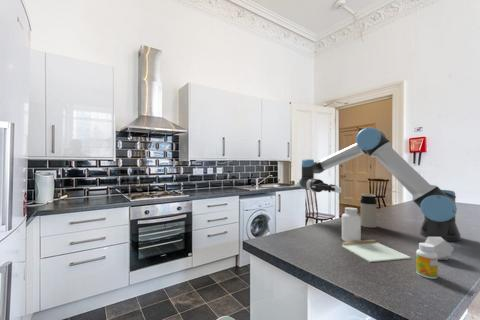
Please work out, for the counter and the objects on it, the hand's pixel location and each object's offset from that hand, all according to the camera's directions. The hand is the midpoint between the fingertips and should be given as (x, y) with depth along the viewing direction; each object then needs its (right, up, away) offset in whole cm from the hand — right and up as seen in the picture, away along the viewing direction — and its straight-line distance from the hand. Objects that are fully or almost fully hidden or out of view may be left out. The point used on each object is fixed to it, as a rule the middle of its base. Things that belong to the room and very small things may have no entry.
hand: (340, 190), depth 114 cm
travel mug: (+24, -23, +17) cm, 37 cm away
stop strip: (+3, -22, -13) cm, 26 cm away
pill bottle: (+2, -23, -8) cm, 24 cm away
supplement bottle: (+10, -22, -40) cm, 47 cm away
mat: (+4, -22, -22) cm, 31 cm away
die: (+25, -23, -27) cm, 43 cm away
